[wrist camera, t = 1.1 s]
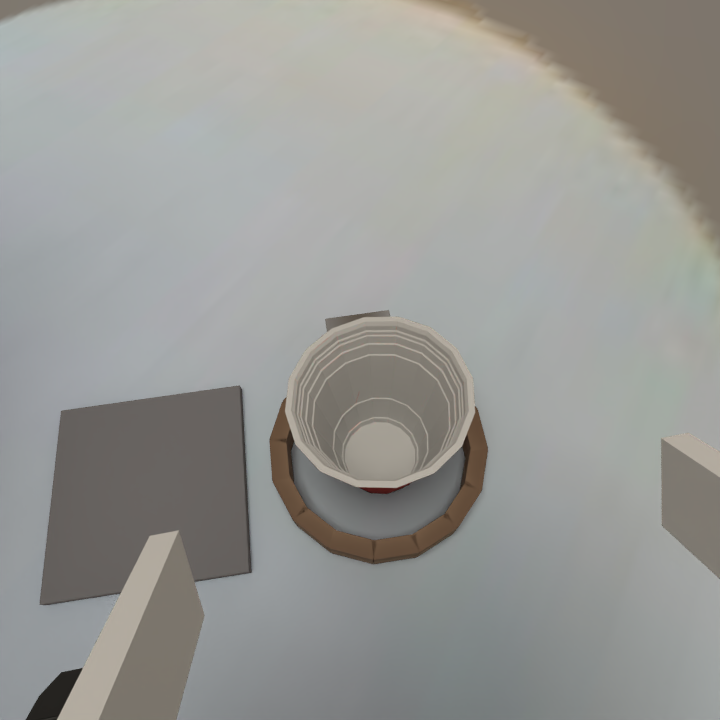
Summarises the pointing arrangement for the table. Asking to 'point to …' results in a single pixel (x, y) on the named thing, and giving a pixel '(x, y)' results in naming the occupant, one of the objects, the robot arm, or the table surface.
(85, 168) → the table surface
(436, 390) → the plastic cup
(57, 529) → the rubber pad
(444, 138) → the table surface
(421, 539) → the walnut collar
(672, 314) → the table surface
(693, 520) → the robot arm
